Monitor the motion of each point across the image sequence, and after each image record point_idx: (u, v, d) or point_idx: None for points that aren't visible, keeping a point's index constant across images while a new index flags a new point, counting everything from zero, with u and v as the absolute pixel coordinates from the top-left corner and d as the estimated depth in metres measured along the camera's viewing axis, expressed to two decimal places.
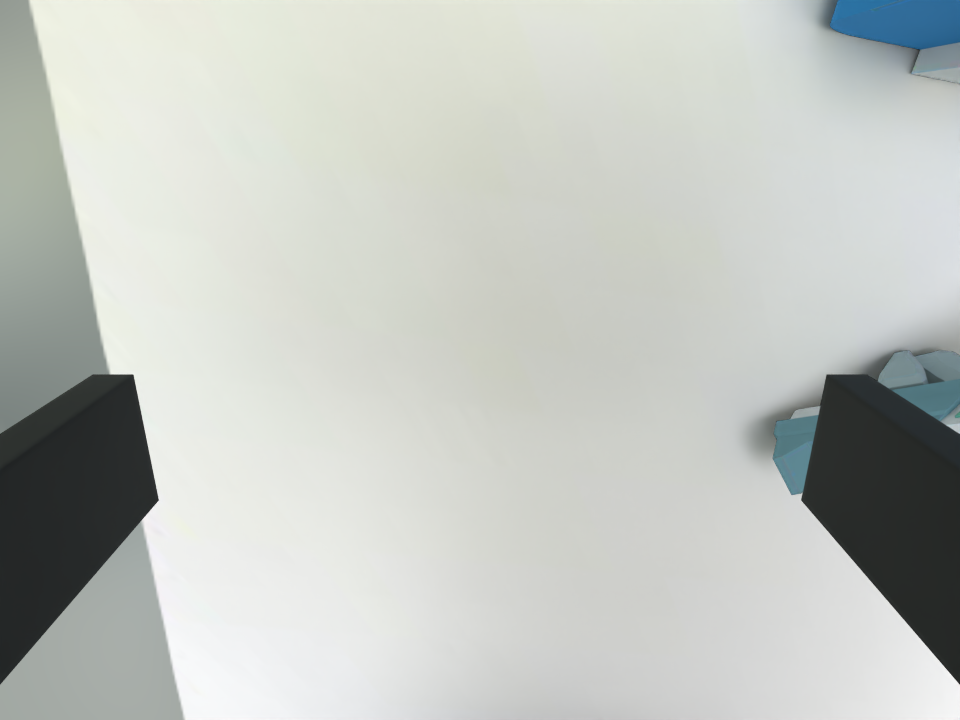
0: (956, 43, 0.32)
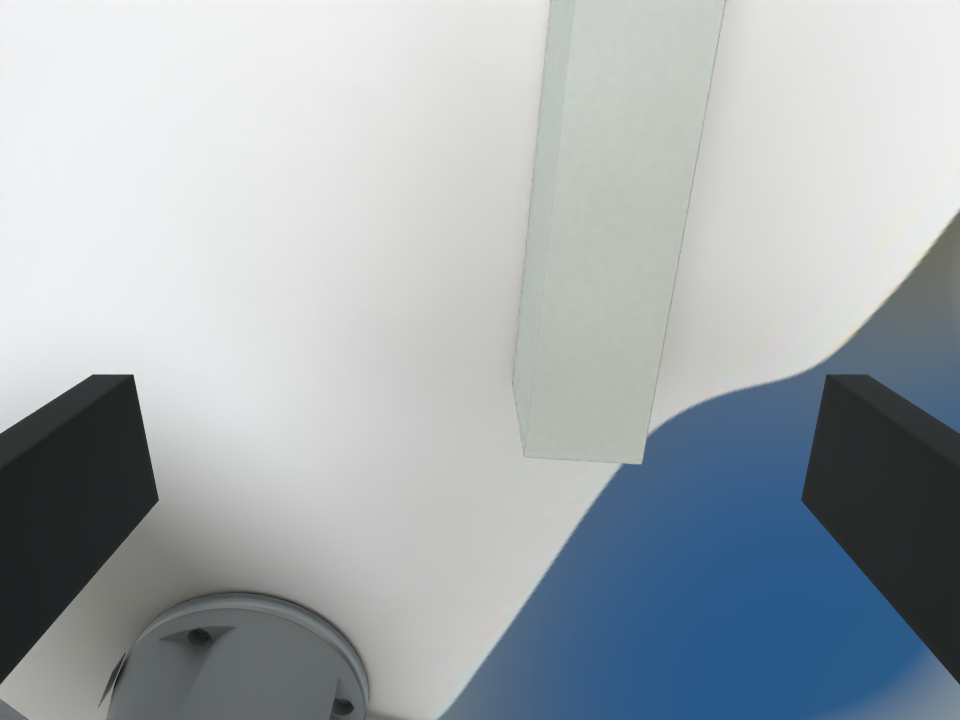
0: None
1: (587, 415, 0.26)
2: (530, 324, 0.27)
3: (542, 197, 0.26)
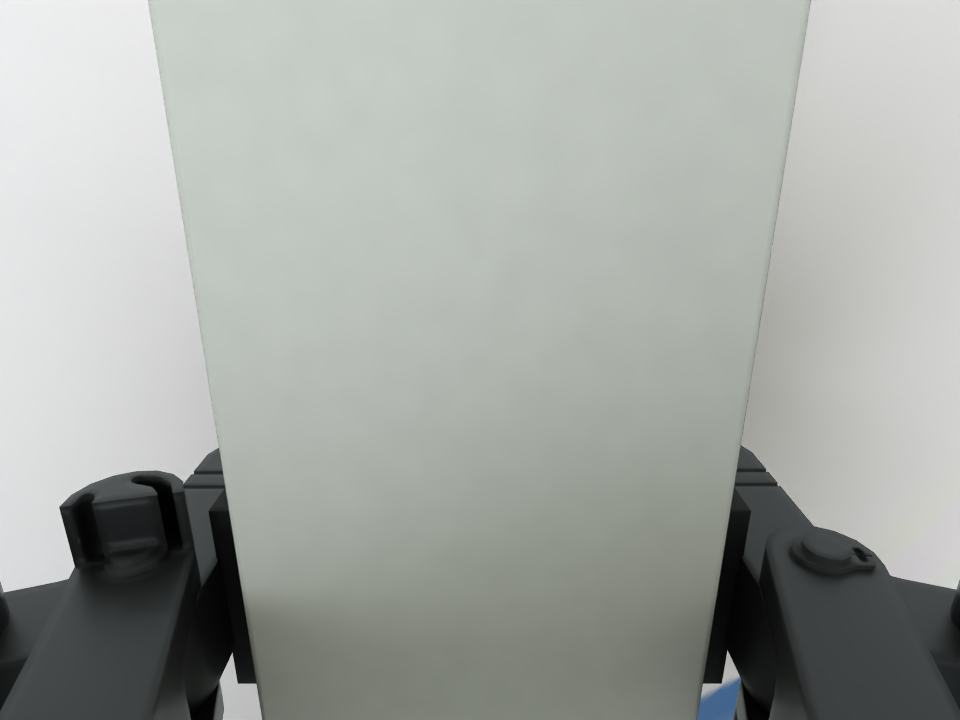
0: None
1: None
2: None
3: None
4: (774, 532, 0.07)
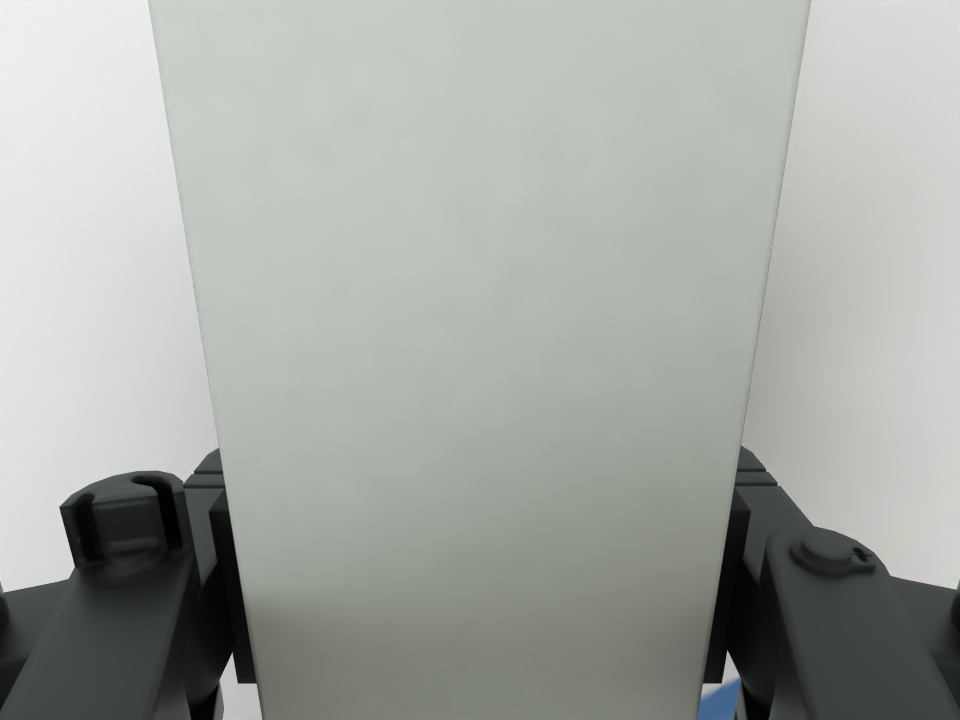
0: None
1: None
2: None
3: None
4: (774, 532, 0.07)
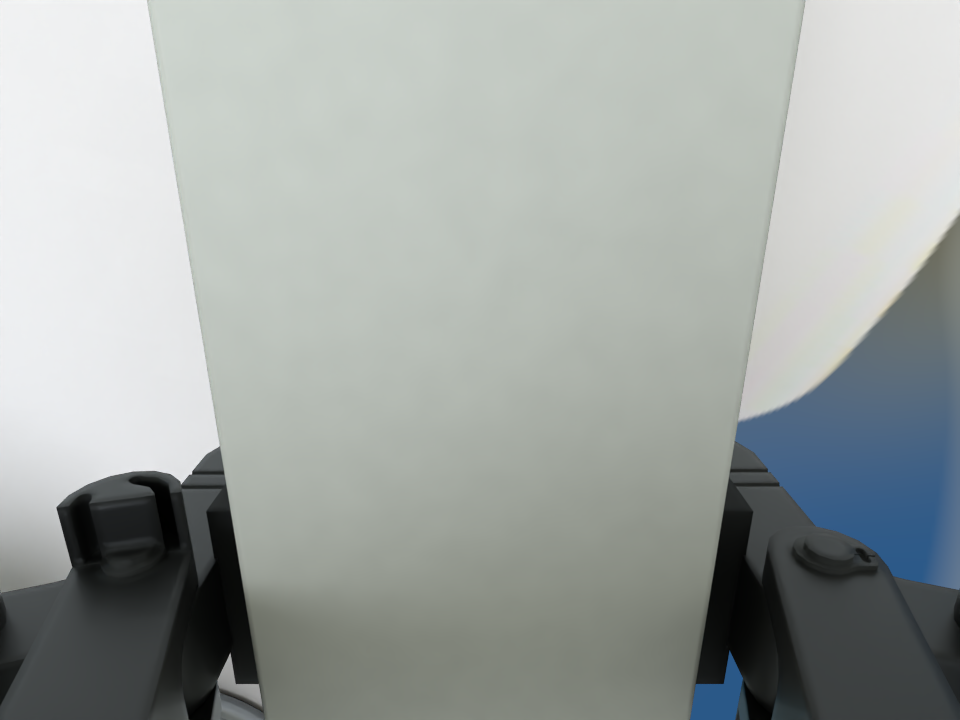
0: None
1: None
2: None
3: None
4: (777, 532, 0.07)
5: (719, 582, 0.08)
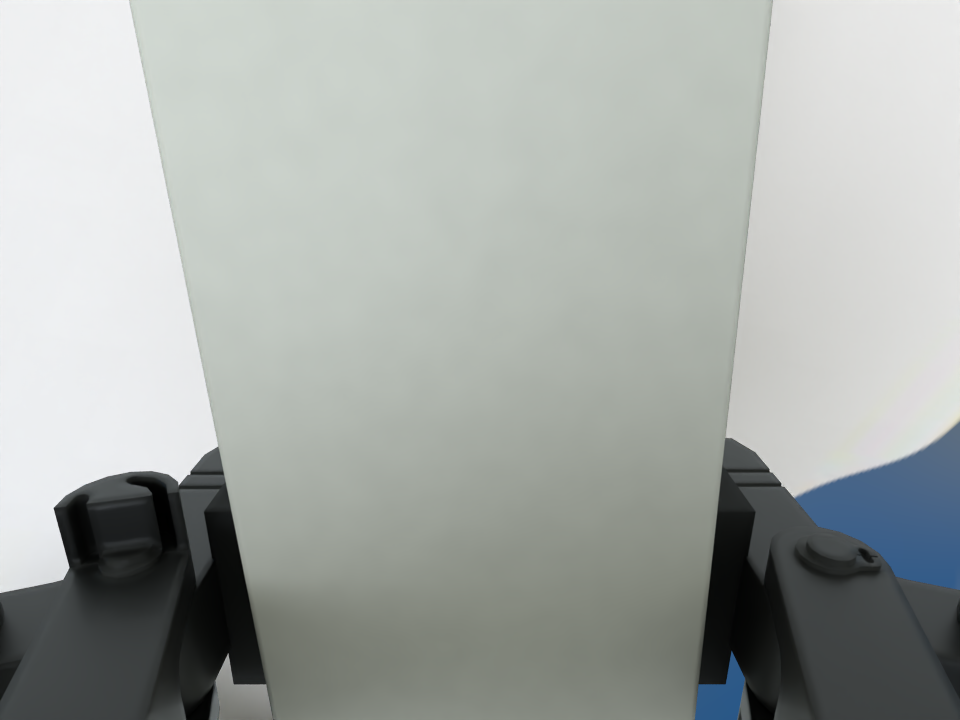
0: None
1: None
2: None
3: None
4: (779, 532, 0.07)
5: (721, 583, 0.08)
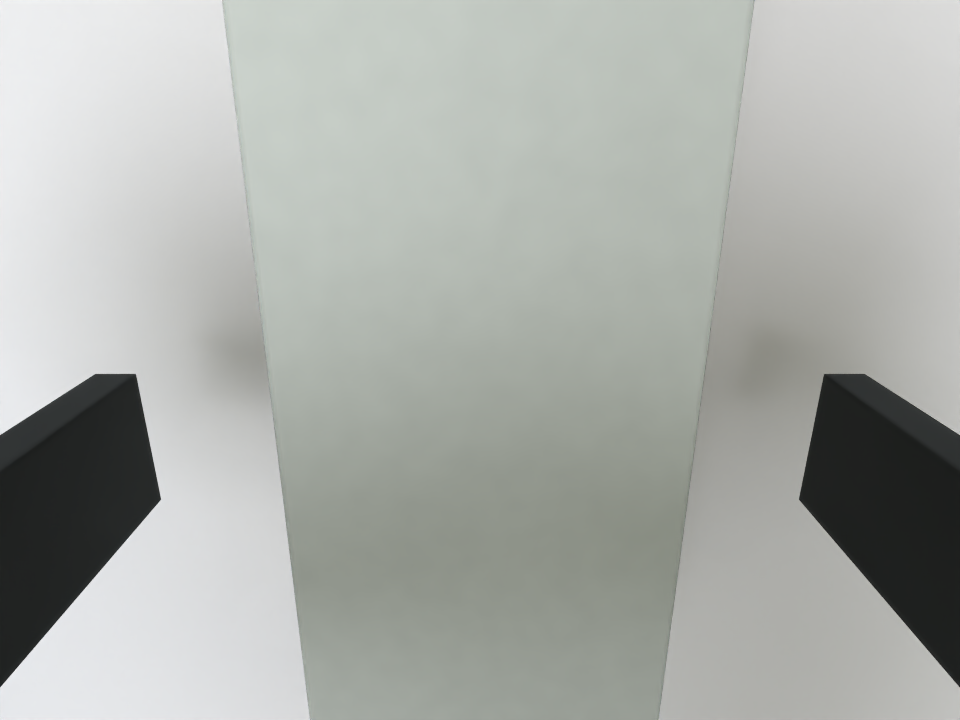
0: None
1: None
2: None
3: None
4: None
5: None
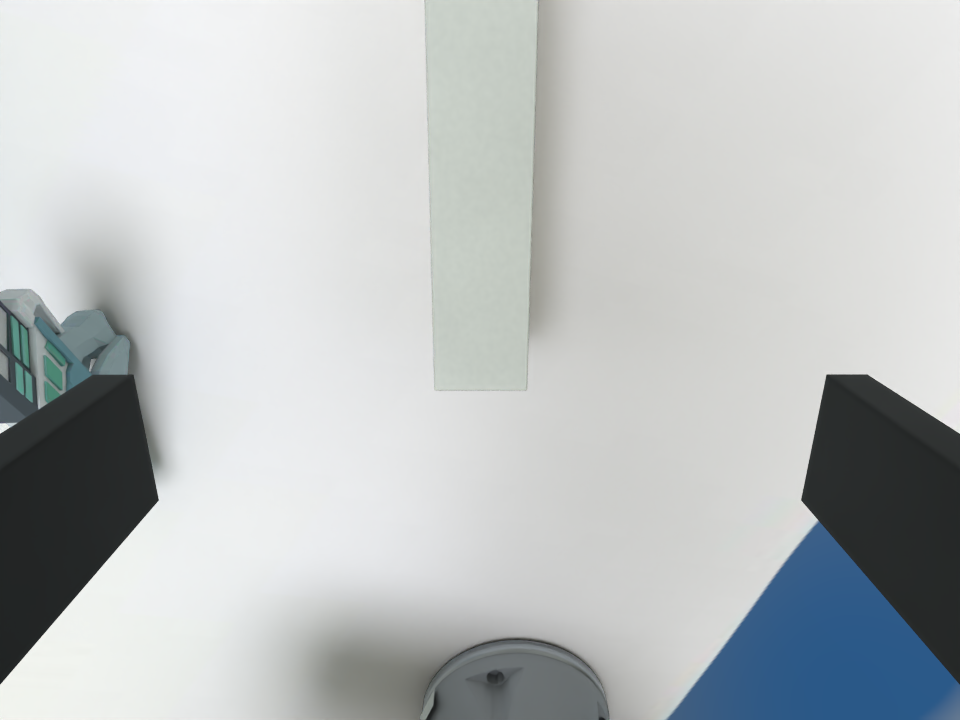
0: None
1: (479, 354, 0.33)
2: None
3: None
4: None
5: None
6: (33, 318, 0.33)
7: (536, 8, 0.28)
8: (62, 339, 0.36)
